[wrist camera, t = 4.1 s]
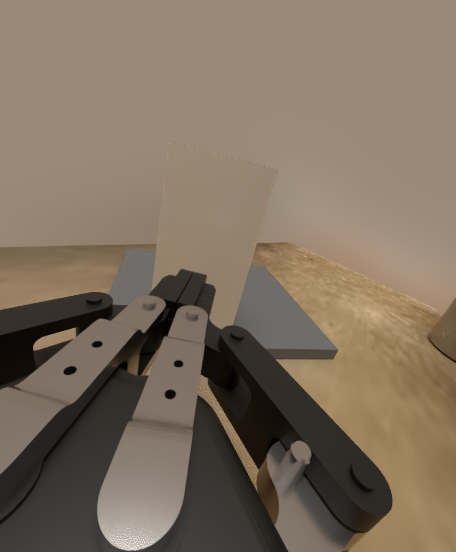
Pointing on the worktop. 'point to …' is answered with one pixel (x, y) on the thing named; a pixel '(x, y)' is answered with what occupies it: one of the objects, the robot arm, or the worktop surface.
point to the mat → (242, 309)
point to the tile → (211, 221)
